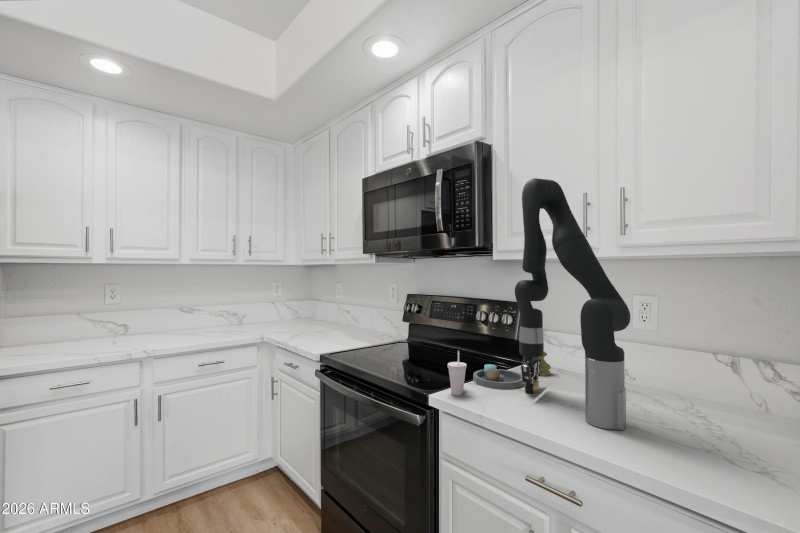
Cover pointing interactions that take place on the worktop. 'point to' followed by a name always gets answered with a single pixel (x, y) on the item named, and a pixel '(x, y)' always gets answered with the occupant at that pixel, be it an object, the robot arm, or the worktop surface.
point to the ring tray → (506, 380)
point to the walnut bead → (493, 375)
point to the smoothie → (457, 376)
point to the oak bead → (535, 386)
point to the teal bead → (489, 367)
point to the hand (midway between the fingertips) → (531, 392)
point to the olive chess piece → (544, 366)
